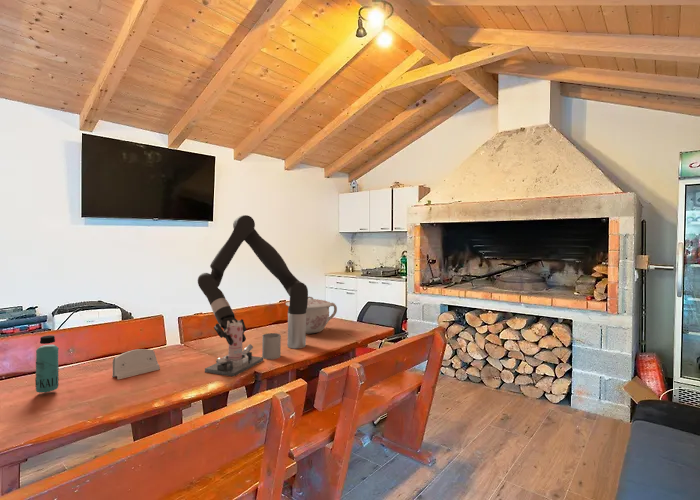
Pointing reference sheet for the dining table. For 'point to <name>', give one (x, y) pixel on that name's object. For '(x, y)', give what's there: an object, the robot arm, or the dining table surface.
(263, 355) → the cup
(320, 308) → the chamber pot
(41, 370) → the beverage bottle
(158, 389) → the dining table surface
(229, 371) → the base
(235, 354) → the beverage can
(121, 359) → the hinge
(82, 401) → the dining table surface
